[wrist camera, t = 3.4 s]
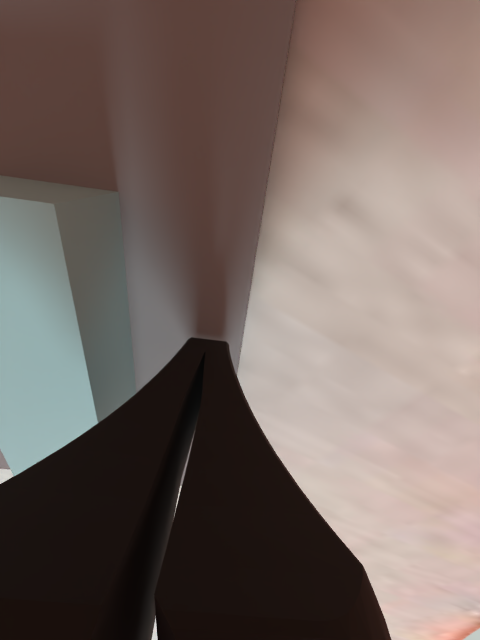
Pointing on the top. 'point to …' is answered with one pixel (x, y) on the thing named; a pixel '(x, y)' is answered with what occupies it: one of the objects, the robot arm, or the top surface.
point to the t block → (60, 316)
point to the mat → (155, 143)
